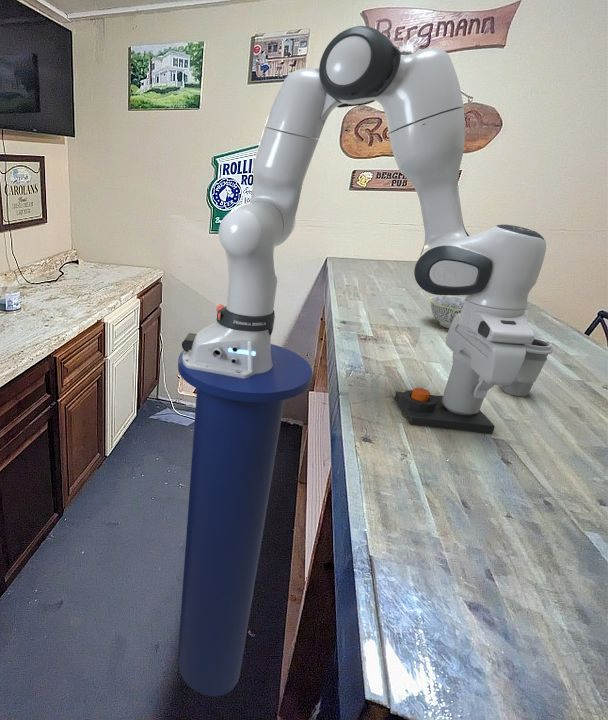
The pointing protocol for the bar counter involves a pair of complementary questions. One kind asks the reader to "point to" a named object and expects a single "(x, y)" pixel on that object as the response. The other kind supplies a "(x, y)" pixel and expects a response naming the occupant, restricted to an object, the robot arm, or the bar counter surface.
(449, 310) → the bowl
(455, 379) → the beverage can
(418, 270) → the robot arm
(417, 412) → the black flat block
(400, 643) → the bar counter surface
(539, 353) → the cup
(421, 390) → the tare button
